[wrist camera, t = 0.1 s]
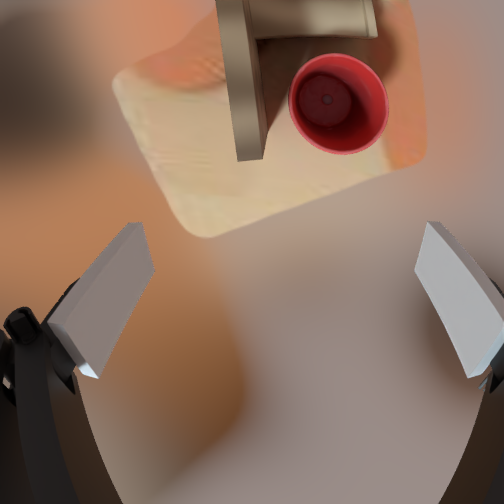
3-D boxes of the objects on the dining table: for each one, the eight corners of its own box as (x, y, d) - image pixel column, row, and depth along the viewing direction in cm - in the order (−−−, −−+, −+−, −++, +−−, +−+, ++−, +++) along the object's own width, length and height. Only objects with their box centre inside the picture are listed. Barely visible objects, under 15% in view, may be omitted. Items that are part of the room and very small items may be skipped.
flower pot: (366, 69, 29) (394, 65, 21) (358, 144, 35) (382, 162, 27) (287, 57, 29) (291, 45, 21) (282, 134, 35) (284, 148, 27)
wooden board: (230, -33, 22) (203, -89, 8) (245, -35, 22) (226, -93, 8) (252, 133, 35) (237, 161, 22) (267, 132, 35) (262, 159, 22)
